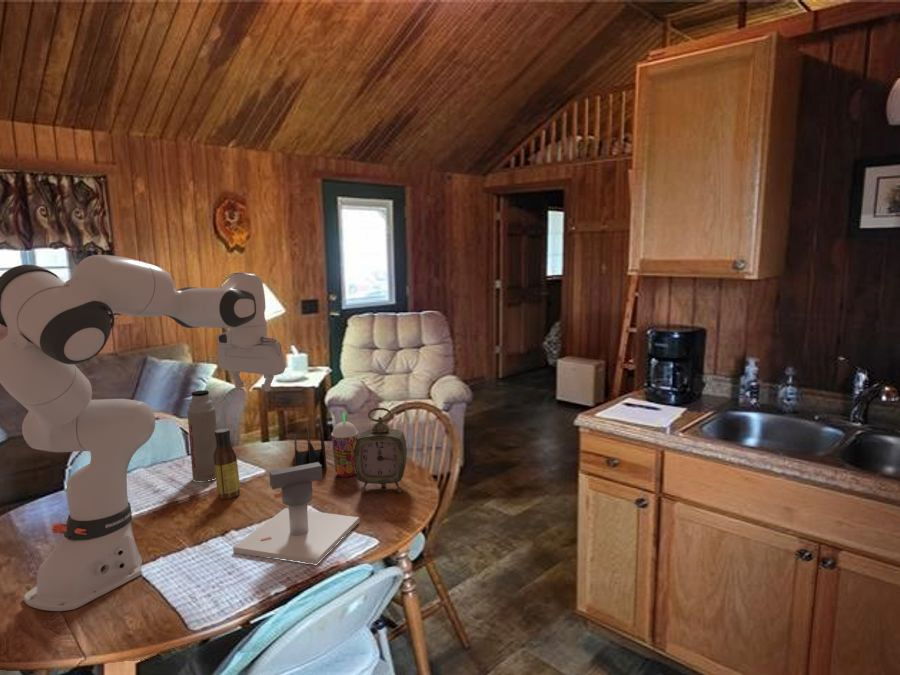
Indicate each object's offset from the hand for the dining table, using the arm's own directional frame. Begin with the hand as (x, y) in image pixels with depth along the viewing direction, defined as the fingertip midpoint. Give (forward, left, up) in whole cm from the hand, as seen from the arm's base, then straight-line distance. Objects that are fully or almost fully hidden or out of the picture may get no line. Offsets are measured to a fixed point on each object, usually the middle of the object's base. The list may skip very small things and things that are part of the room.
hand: (252, 389), depth 150 cm
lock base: (-7, -16, -35) cm, 39 cm away
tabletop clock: (+26, -24, -35) cm, 50 cm away
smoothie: (+34, -8, -35) cm, 50 cm away
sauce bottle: (+10, +18, -35) cm, 41 cm away
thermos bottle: (+20, +34, -35) cm, 53 cm away
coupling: (-7, -16, -25) cm, 31 cm away
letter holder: (+40, +9, -36) cm, 54 cm away
